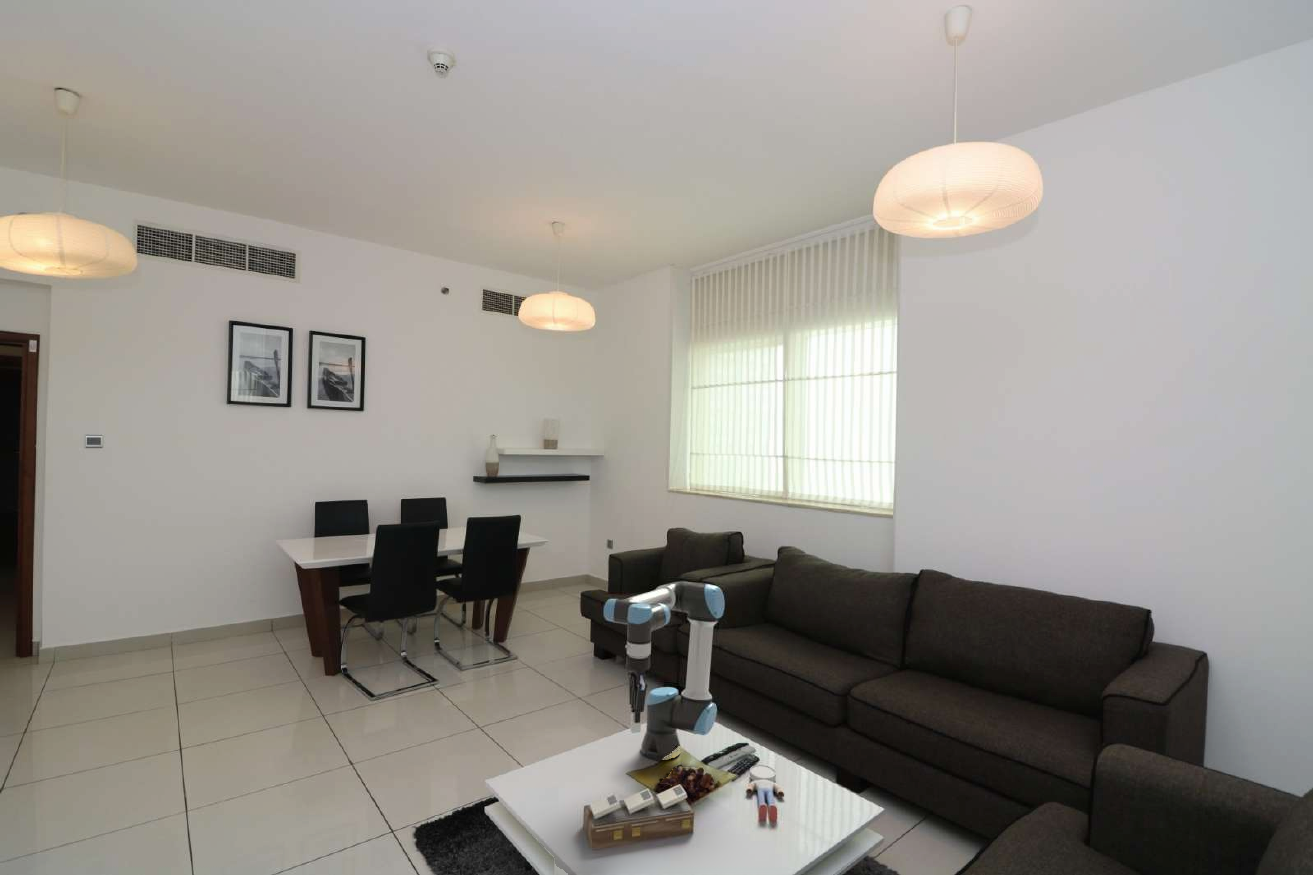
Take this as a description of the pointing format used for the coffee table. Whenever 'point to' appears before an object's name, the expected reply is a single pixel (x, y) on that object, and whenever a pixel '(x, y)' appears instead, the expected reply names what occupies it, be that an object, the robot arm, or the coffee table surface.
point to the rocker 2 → (671, 796)
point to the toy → (765, 790)
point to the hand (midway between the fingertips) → (635, 731)
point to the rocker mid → (639, 801)
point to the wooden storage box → (637, 824)
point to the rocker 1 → (605, 806)
